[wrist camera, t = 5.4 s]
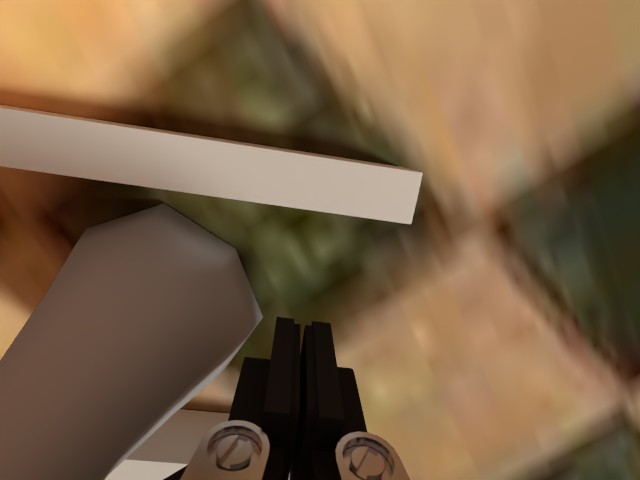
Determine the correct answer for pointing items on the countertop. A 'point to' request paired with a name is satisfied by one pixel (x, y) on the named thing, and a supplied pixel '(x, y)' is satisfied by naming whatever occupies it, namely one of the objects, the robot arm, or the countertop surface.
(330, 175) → the guide rails
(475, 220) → the countertop surface
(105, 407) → the flask
